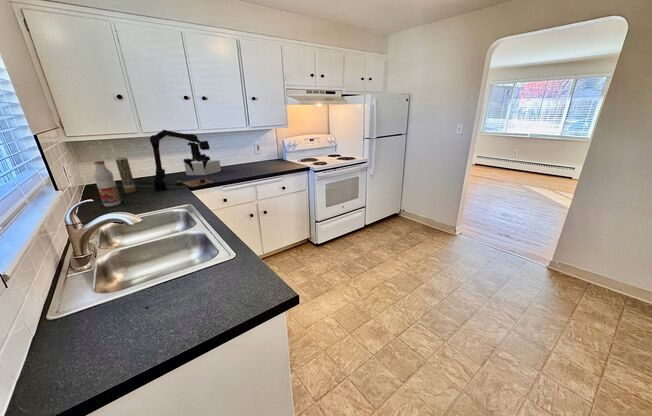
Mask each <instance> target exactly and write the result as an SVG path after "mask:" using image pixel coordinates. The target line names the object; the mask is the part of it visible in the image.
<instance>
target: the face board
mask: <svg viewBox="0 0 652 416" xmlns="http://www.w3.org/2000/svg"><path fill="white" fill-rule="evenodd" d="M199 179H200V178H198V179H193V180H187V181H184V182H182V185H185V186H187V187H190V188H195V187H200V186H204V185H210V184H214V183H215V182H214V181H213V180H210V179H207V178H205V183H200V180H199Z"/></svg>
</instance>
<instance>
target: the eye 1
mask: <svg viewBox="0 0 652 416" xmlns="http://www.w3.org/2000/svg"><path fill="white" fill-rule="evenodd" d="M175 184H176V185H175V186H176V187H180V186H183V182H182V180H177V181H175Z"/></svg>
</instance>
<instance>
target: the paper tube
mask: <svg viewBox="0 0 652 416" xmlns="http://www.w3.org/2000/svg"><path fill="white" fill-rule="evenodd" d="M128 159H129V158H128V157H117V158H115V163H116V165H117V166H116V167H117V170H118V173H119V176H120V179H121V183H122V186H123V190H124V193H125V194H133V193H136V192H137V188H136V185H135V181H134V177H133V174H132V171H131V167H130V163H129V160H128Z"/></svg>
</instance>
